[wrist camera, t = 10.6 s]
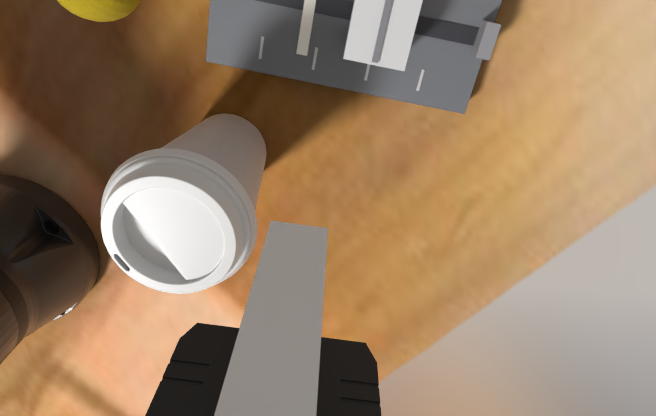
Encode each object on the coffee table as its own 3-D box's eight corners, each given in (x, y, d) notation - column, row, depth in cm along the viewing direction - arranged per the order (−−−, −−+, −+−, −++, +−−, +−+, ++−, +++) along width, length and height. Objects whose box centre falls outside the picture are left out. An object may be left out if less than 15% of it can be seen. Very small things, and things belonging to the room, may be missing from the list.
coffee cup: (160, 101, 39) (60, 170, 26) (273, 88, 38) (231, 152, 25) (189, 204, 44) (116, 310, 30) (292, 195, 43) (264, 299, 29)
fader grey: (344, 48, 34) (343, 59, 30) (359, -28, 32) (360, -27, 28) (398, 59, 35) (404, 72, 30) (417, -16, 32) (426, -13, 28)
